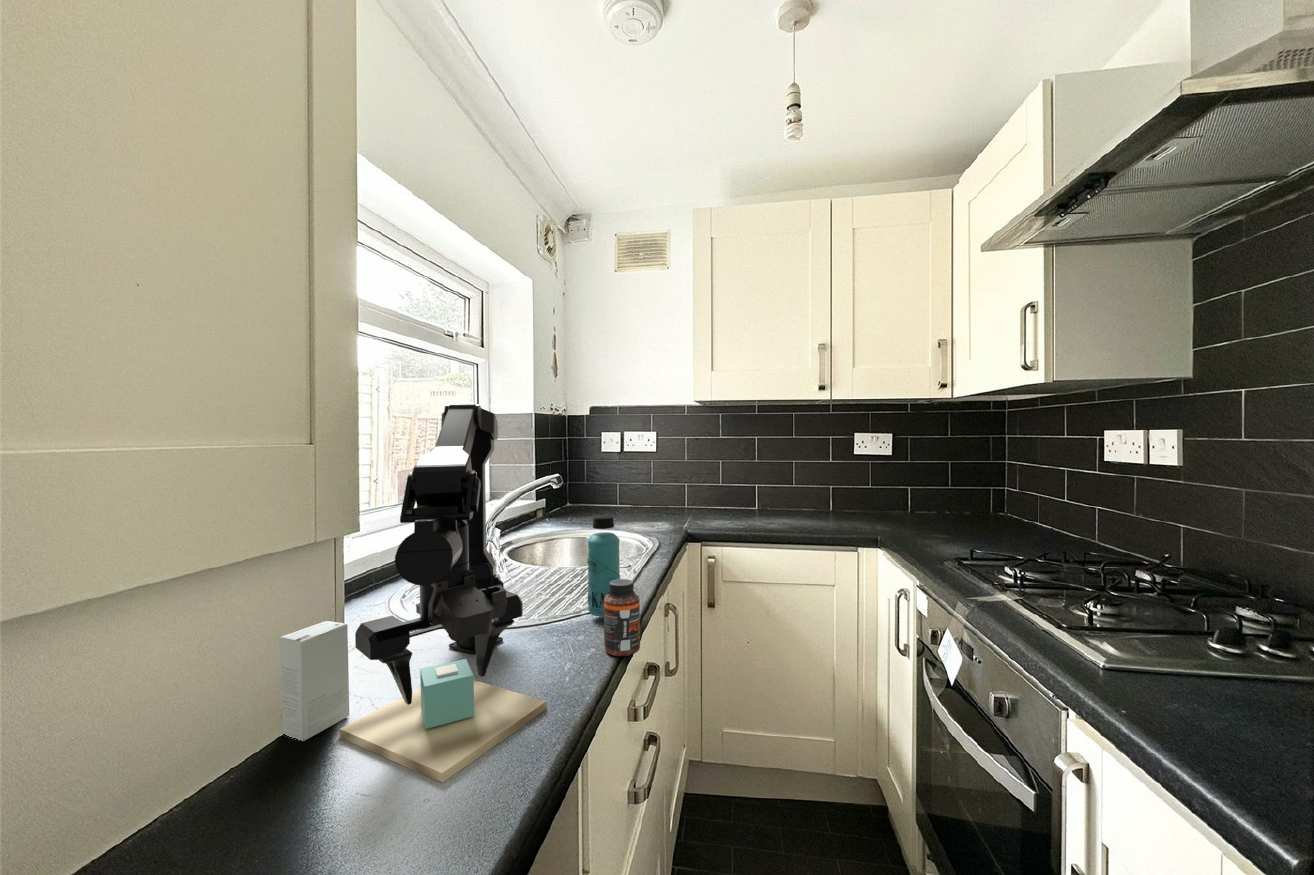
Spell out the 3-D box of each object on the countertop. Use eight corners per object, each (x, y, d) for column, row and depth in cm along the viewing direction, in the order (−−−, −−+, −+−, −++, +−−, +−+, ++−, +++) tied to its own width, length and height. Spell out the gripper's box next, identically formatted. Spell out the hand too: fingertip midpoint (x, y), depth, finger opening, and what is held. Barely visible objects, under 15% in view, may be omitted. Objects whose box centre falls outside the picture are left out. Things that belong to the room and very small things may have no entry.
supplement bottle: (635, 659, 81) (634, 587, 81) (599, 657, 82) (598, 586, 82) (644, 644, 87) (642, 577, 87) (610, 642, 88) (609, 576, 88)
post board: (339, 737, 61) (339, 699, 61) (451, 680, 75) (450, 649, 75) (442, 783, 52) (441, 738, 52) (546, 709, 66) (545, 674, 66)
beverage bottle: (603, 611, 104) (601, 512, 104) (628, 617, 100) (626, 515, 100) (580, 620, 99) (578, 517, 99) (606, 627, 95) (604, 519, 95)
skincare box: (327, 711, 67) (326, 618, 67) (351, 717, 65) (350, 622, 65) (277, 737, 61) (276, 635, 61) (303, 744, 60) (301, 640, 60)
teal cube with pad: (474, 716, 63) (473, 672, 63) (425, 729, 60) (424, 683, 60) (466, 696, 67) (466, 656, 67) (421, 708, 65) (420, 666, 65)
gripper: (387, 593, 51) (390, 749, 51) (545, 559, 65) (547, 682, 65) (352, 574, 59) (355, 710, 59) (500, 547, 72) (502, 657, 72)
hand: (446, 689), depth 64 cm, fingers open, 9 cm apart
